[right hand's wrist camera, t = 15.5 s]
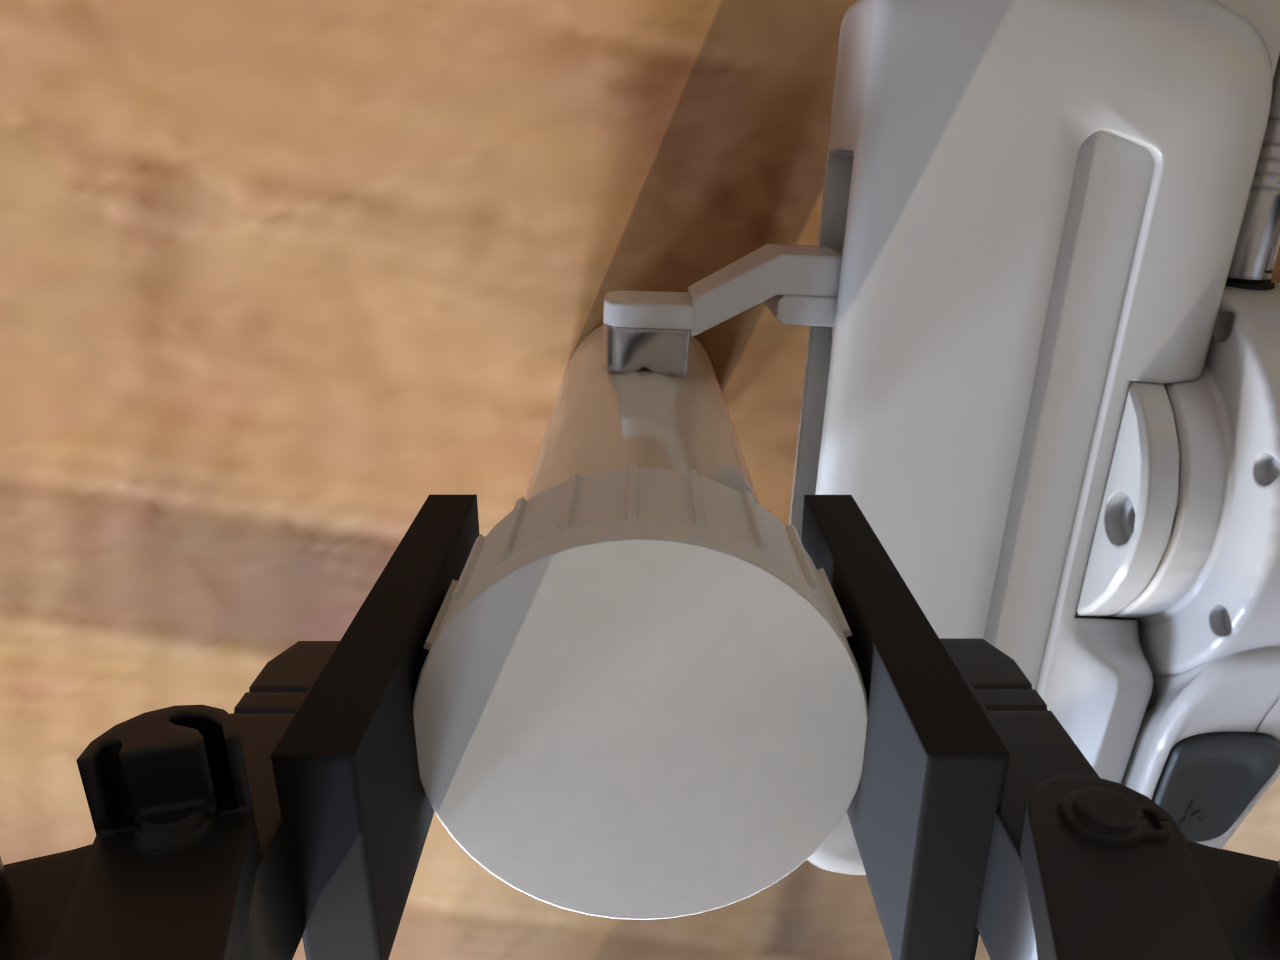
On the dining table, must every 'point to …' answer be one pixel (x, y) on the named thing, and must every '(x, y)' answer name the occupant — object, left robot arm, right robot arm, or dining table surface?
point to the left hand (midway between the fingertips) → (600, 459)
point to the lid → (640, 698)
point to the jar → (638, 422)
